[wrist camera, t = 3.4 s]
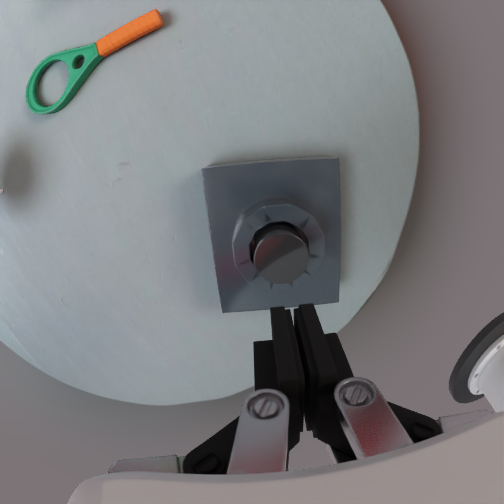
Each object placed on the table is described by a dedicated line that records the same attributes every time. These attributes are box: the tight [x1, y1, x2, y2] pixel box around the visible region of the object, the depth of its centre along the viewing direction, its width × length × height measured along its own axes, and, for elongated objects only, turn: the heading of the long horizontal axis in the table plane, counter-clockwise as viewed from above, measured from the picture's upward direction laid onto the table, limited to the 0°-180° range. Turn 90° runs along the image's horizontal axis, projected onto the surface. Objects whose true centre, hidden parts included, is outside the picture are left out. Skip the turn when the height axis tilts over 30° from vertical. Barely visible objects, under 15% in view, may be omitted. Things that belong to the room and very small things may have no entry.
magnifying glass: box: [26, 9, 164, 114], centre depth 19 cm, size 15×6×2 cm, turn 110°
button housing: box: [202, 156, 341, 313], centre depth 23 cm, size 10×12×5 cm
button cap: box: [254, 224, 309, 284], centre depth 20 cm, size 4×4×2 cm
